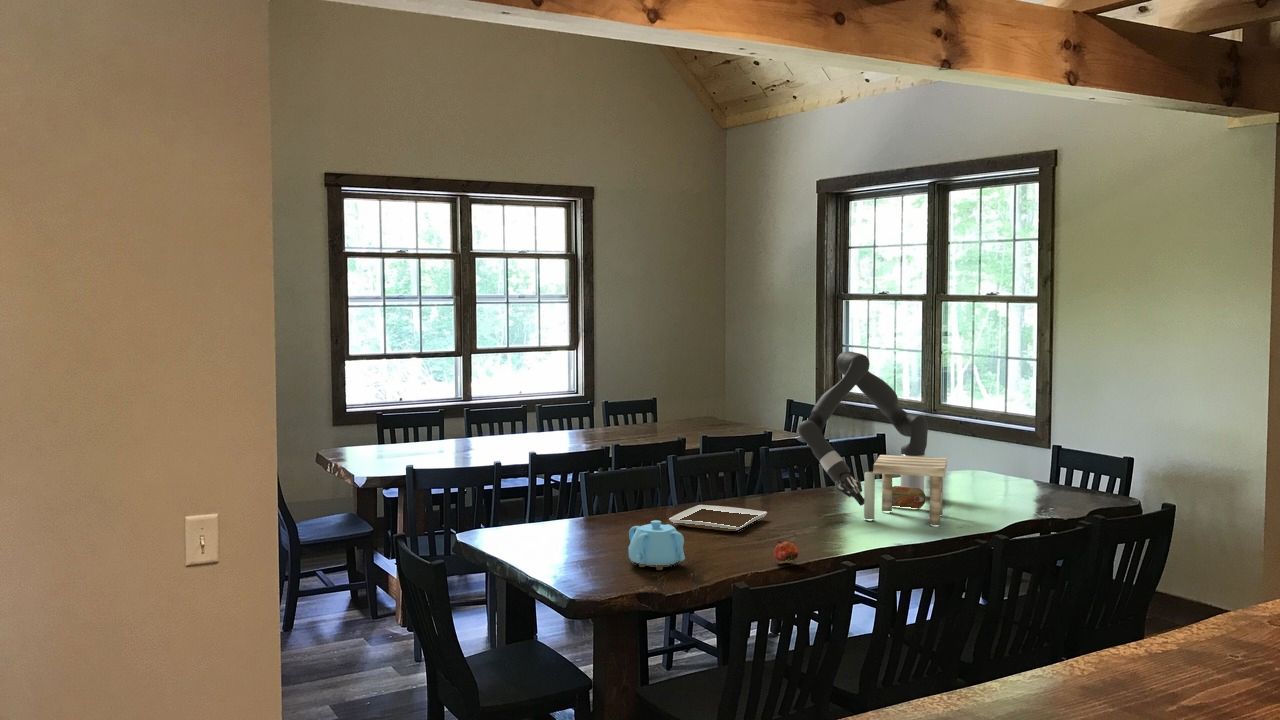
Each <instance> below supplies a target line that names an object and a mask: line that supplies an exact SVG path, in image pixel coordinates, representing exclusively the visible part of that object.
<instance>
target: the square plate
mask: <svg viewBox="0 0 1280 720" xmlns="http://www.w3.org/2000/svg"><path fill="white" fill-rule="evenodd" d="M701 509H706V510H713V511H721V512H729V513H739V514H740V513H741V514H750V515H758V516H756V517H754V518H752V519H751V520H749V521H748V522H746V523H745V524H744V525H742V526H740V527H736V526H730V525H724V524H717V523H711V522H703V521H692V520H680V519H682V518H684V517H687V516H689V515H691V514H693V513H695V512H697V511H699V510H701ZM767 514H768V512H767V511H764V510H757V509H756V510H755V509H749V508H742V507H733V506H732V507H731V506H722V505H721V506H720V505H707V504H698V505H696V506H693V507H690V508H688V509H686V510H683V511H681V512H679V513H677V514H675V515H673V516H671V517H669V518H668V521H670V522H671V523H672V522H673V523H672V524H674V523H685V524H695V525H705V526H712V527H720V528H728V529H736V530H739V529H741V528H743V527H745V526H746V525H748V524H750V523H752V522H754V521H756V520H758V519H760V518H762V517H763V518H764V517H765V516H766V515H767ZM763 518H762V519H763ZM760 520H761V519H760ZM758 521H759V520H758ZM752 524H753V523H752Z"/></svg>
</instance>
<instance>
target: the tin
mask: <svg viewBox="0 0 1280 720" xmlns="http://www.w3.org/2000/svg"><path fill="white" fill-rule="evenodd" d="M926 501H927V497H926V493H925V491H924V492H923V491H922V490H921V489H919V488H916V487H902V486H901V485H895V486H893V485H892V506H900V507H911V508H918V509H917V510H920V509H921V508H922V507H923V506H924V505H925V503H926Z"/></svg>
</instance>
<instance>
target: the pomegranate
mask: <svg viewBox="0 0 1280 720" xmlns="http://www.w3.org/2000/svg"><path fill="white" fill-rule="evenodd" d="M777 543H778V544H777V545H776V546H775V548H774V550H773V559H774V561H775V560H778V561H785V560H788V561H790V560H794V559H795V560H797V559H798V557H799V554H800V552H799V549H798V547H797V546H796V545H795V544H794V543H793V542H792V541H788V540H787V541H786V540H785V541H783V542H781V540H778V541H777ZM795 560H794V561H795Z"/></svg>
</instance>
